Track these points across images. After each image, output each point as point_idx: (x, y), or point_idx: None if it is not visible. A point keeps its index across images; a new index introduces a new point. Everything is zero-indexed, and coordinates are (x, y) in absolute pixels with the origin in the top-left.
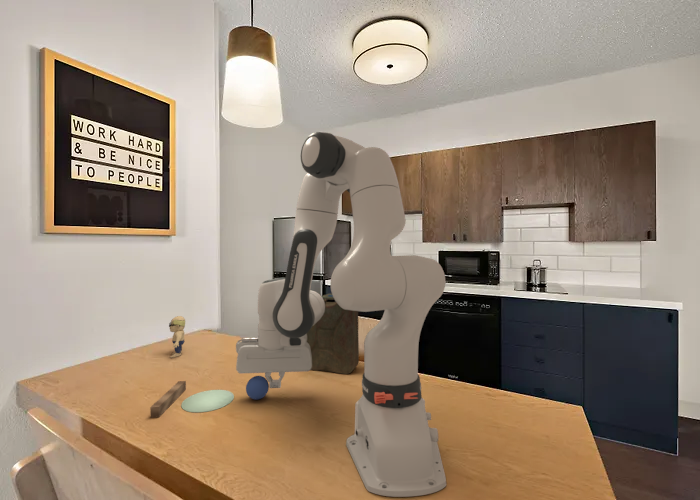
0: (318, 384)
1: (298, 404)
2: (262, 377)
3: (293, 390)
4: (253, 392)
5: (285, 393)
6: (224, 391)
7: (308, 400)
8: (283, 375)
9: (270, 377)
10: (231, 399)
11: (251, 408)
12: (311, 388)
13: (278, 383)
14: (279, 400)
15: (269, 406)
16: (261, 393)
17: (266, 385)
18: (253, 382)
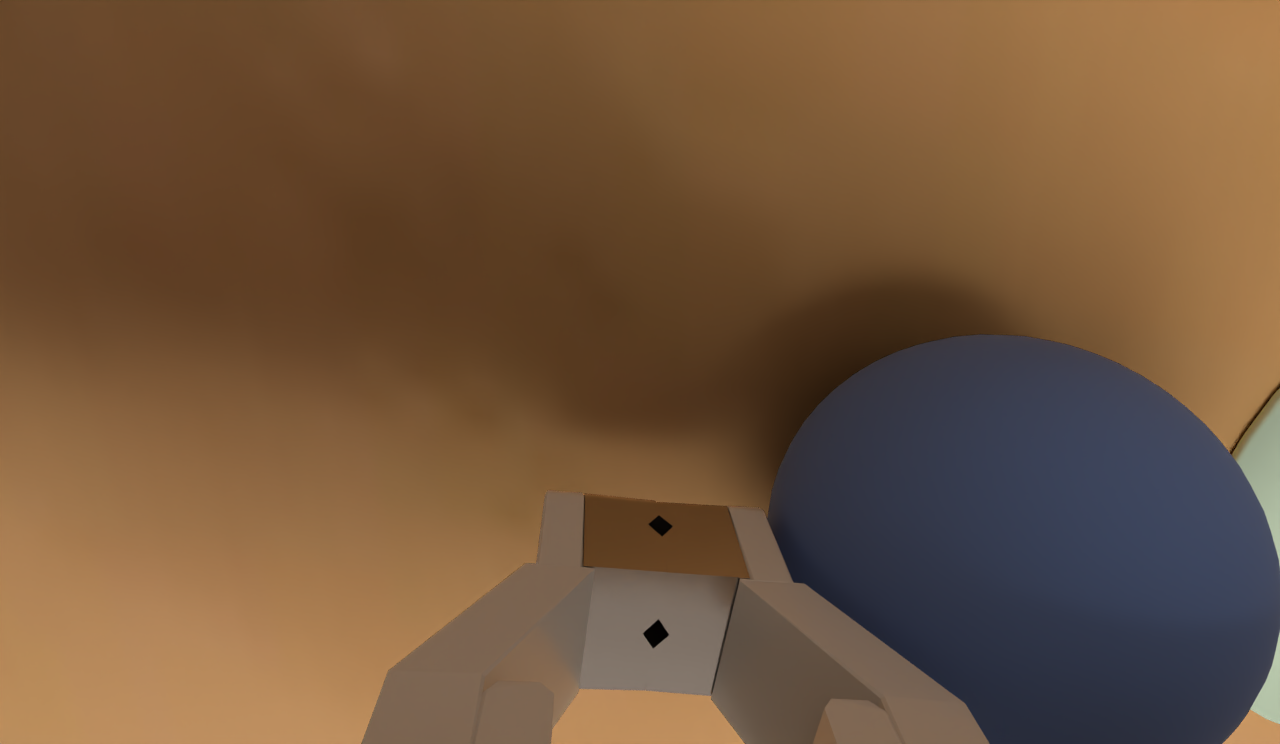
0: (7, 719)
1: (201, 85)
2: (996, 710)
3: (371, 601)
4: (1093, 355)
5: (485, 531)
6: (1275, 685)
7: (35, 213)
8: (399, 683)
9: (780, 720)
10: (1254, 463)
11: (1025, 121)
12: (91, 621)
13: (576, 544)
14: (566, 319)
15: (731, 127)
16: (913, 357)
17: (848, 502)
18: (1221, 535)
